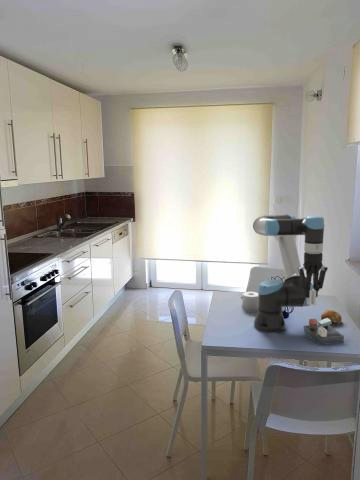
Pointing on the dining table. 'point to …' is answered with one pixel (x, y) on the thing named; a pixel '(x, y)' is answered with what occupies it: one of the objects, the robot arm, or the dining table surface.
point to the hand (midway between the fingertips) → (311, 304)
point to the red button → (312, 322)
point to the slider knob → (322, 332)
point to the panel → (332, 337)
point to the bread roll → (332, 316)
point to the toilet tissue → (250, 301)
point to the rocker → (324, 322)
